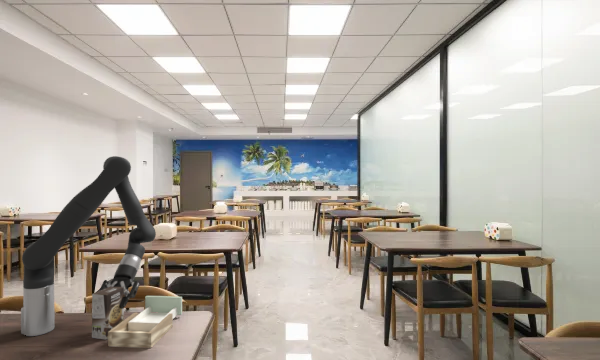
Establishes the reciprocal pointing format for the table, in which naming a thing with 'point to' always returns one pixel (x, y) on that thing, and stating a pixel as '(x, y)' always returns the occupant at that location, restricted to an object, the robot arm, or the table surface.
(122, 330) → the box
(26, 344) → the table surface
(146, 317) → the drawer
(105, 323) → the coffee box
